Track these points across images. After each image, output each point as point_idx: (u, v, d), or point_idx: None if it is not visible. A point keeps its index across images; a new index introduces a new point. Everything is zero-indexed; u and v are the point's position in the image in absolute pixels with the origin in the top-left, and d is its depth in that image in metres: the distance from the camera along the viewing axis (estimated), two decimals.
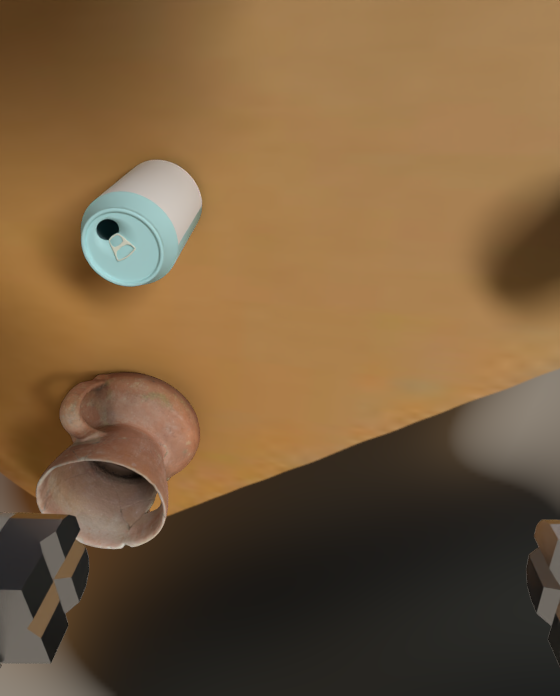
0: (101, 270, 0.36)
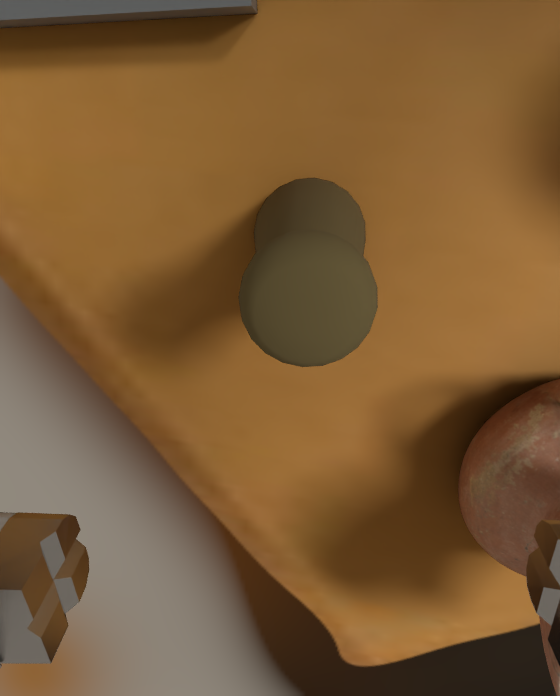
0: None
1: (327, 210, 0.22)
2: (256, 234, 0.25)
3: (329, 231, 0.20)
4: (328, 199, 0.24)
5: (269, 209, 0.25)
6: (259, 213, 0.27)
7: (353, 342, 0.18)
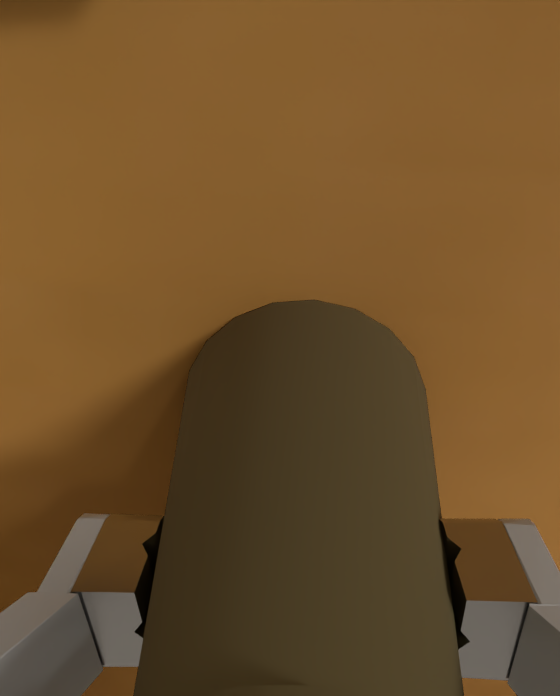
0: None
1: (353, 448, 0.08)
2: None
3: (369, 608, 0.06)
4: (351, 386, 0.09)
5: (203, 394, 0.10)
6: (191, 374, 0.12)
7: None
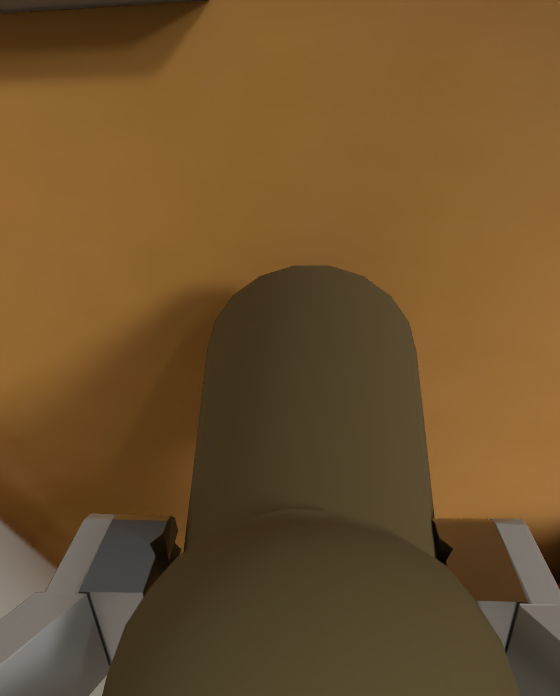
0: None
1: (363, 374, 0.10)
2: (206, 374, 0.13)
3: (375, 473, 0.08)
4: (360, 331, 0.11)
5: (234, 334, 0.12)
6: (218, 322, 0.14)
7: None
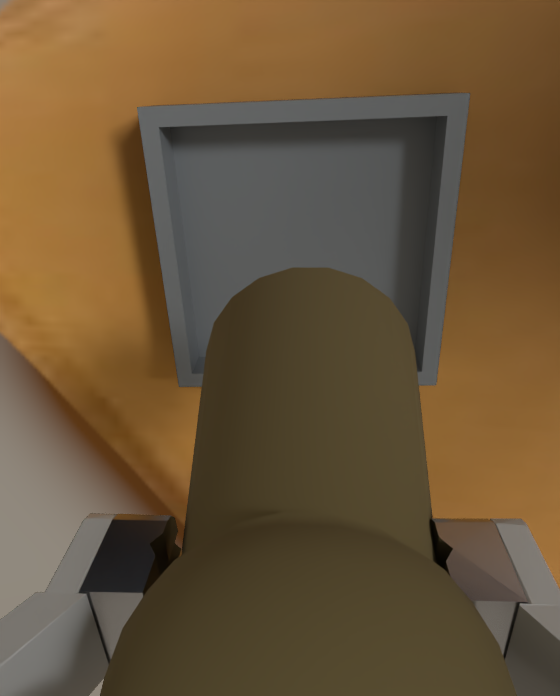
0: None
1: (361, 376, 0.10)
2: (205, 376, 0.13)
3: (373, 475, 0.08)
4: (359, 333, 0.11)
5: (233, 335, 0.12)
6: (217, 324, 0.14)
7: None
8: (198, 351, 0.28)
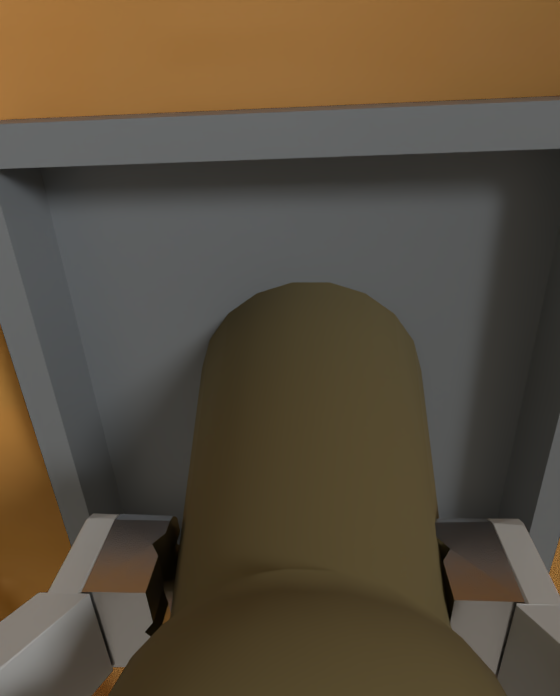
0: None
1: (366, 405, 0.09)
2: (200, 398, 0.12)
3: (380, 522, 0.07)
4: (363, 356, 0.10)
5: (229, 357, 0.11)
6: (212, 342, 0.13)
7: None
8: None
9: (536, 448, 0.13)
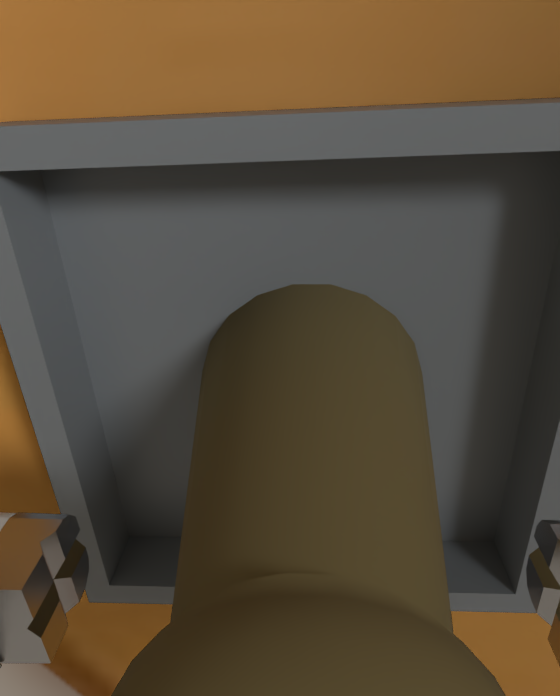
0: None
1: (367, 408, 0.09)
2: (200, 400, 0.12)
3: (381, 526, 0.07)
4: (364, 358, 0.10)
5: (230, 359, 0.11)
6: (213, 343, 0.13)
7: None
8: (127, 529, 0.17)
9: (537, 450, 0.13)
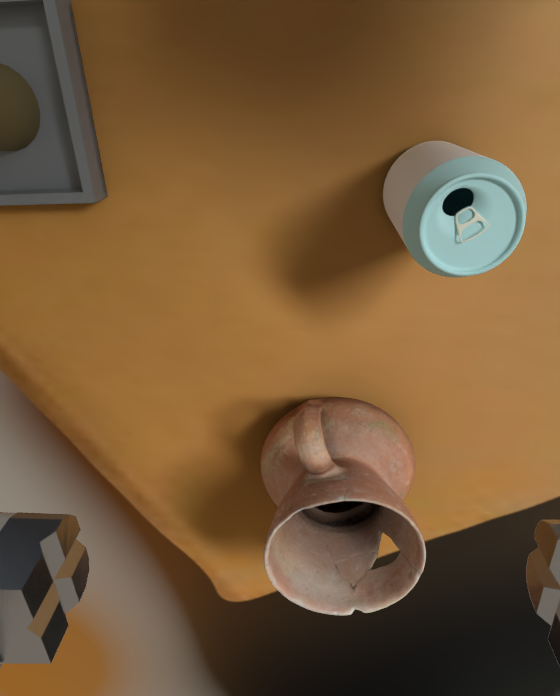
0: (432, 255, 0.29)
1: None
2: None
3: None
4: None
5: None
6: None
7: None
8: None
9: None
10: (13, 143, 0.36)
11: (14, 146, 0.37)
